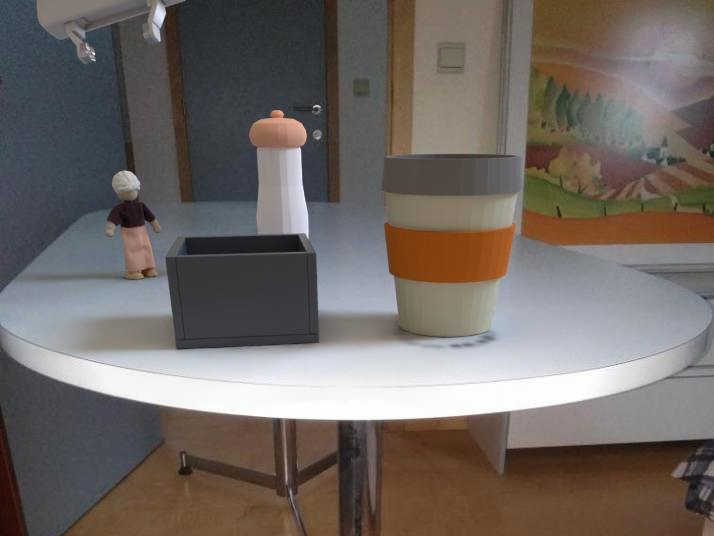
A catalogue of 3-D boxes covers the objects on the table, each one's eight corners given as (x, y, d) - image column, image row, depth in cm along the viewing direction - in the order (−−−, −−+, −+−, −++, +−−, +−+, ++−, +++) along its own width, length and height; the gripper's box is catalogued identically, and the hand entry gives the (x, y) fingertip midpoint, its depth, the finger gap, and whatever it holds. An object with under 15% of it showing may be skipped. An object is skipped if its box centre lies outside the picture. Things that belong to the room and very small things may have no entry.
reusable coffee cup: (420, 305, 78) (424, 153, 71) (530, 319, 72) (546, 154, 65) (355, 330, 69) (353, 157, 62) (475, 349, 62) (488, 160, 56)
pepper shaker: (246, 272, 96) (234, 110, 88) (290, 265, 101) (282, 111, 92) (279, 279, 91) (270, 109, 83) (323, 272, 96) (319, 110, 87)
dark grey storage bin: (176, 349, 63) (165, 257, 60) (186, 315, 74) (177, 236, 71) (319, 342, 65) (316, 252, 61) (308, 310, 76) (305, 233, 73)
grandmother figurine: (149, 270, 97) (136, 168, 92) (170, 273, 96) (157, 169, 90) (105, 280, 91) (87, 172, 86) (126, 283, 90) (109, 172, 84)
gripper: (18, -51, 91) (32, 59, 91) (163, -103, 85) (178, 14, 86) (51, -19, 97) (64, 84, 97) (188, -66, 92) (202, 43, 92)
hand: (119, 51), depth 91 cm, fingers open, 8 cm apart
